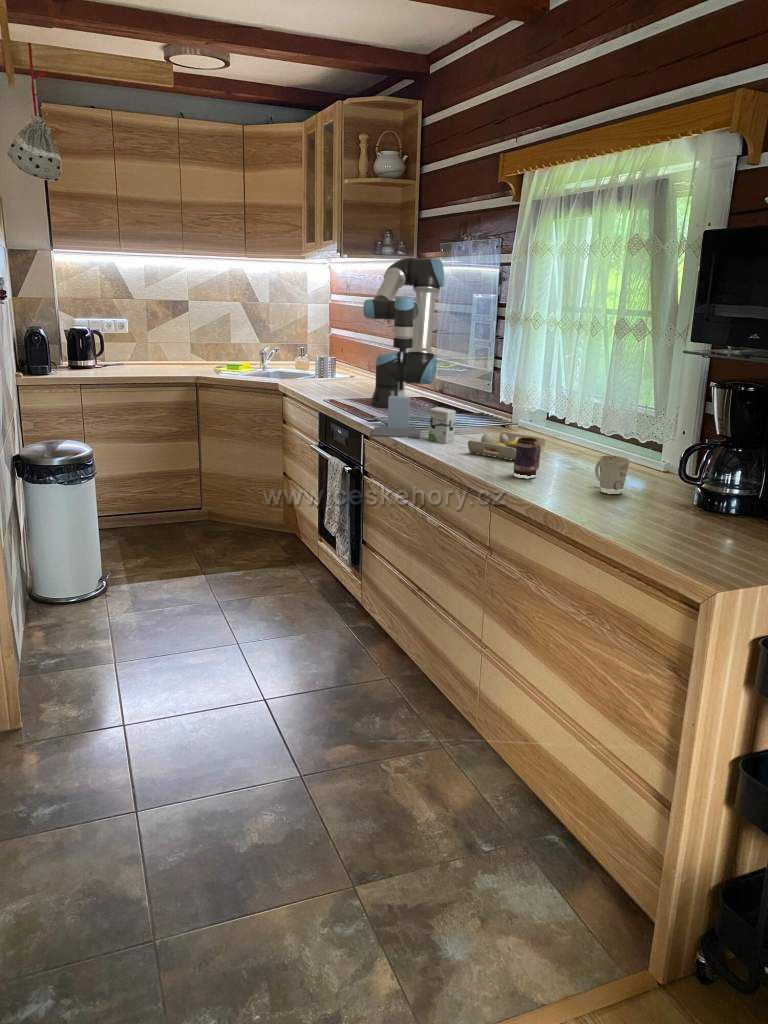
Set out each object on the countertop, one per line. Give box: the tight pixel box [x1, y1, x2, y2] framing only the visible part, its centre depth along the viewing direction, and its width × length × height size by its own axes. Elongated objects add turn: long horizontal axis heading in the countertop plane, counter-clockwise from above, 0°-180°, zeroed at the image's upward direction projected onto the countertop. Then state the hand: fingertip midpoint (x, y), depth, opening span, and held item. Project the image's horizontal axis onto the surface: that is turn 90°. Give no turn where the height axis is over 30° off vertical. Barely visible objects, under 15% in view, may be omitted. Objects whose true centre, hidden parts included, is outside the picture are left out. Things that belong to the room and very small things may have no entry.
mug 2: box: [513, 437, 542, 476], centre depth 240 cm, size 10×7×12 cm
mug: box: [594, 455, 631, 490], centre depth 229 cm, size 8×13×10 cm, turn 24°
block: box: [387, 396, 411, 429], centre depth 306 cm, size 5×8×12 cm, turn 85°
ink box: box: [427, 406, 457, 445], centre depth 285 cm, size 9×5×12 cm, turn 47°
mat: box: [370, 426, 422, 439], centre depth 298 cm, size 14×18×1 cm
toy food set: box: [467, 430, 547, 461], centre depth 273 cm, size 25×18×8 cm
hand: (400, 397), depth 316 cm, fingers closed
